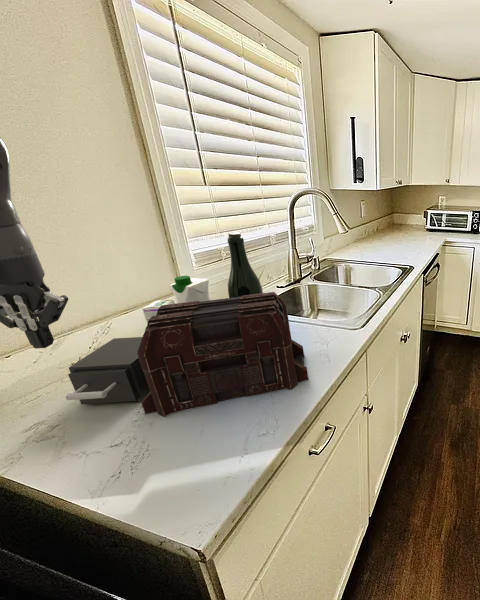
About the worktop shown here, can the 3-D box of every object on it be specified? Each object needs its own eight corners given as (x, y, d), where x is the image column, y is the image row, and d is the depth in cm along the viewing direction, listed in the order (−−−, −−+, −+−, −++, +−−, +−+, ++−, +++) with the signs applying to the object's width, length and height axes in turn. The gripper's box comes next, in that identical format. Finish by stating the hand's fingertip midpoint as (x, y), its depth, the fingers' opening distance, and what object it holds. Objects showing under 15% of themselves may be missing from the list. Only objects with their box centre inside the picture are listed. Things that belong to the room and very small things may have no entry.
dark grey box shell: (143, 400, 76) (130, 364, 72) (84, 404, 75) (68, 367, 71) (175, 367, 89) (166, 335, 85) (125, 370, 88) (113, 338, 84)
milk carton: (180, 338, 105) (163, 279, 98) (202, 326, 113) (188, 270, 106) (203, 340, 103) (187, 280, 96) (223, 328, 111) (210, 272, 104)
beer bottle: (239, 328, 111) (218, 231, 99) (271, 324, 114) (255, 229, 102) (233, 342, 102) (209, 236, 90) (268, 338, 104) (250, 234, 92)
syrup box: (176, 351, 97) (163, 306, 92) (155, 352, 96) (141, 307, 91) (186, 342, 102) (174, 299, 97) (167, 343, 102) (154, 300, 96)
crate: (140, 422, 69) (107, 334, 61) (165, 374, 85) (142, 301, 78) (309, 386, 80) (299, 308, 73) (303, 350, 97) (294, 283, 89)
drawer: (121, 414, 70) (109, 383, 67) (62, 418, 69) (48, 387, 66) (167, 369, 86) (158, 343, 83) (120, 372, 85) (110, 346, 82)
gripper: (65, 248, 58) (98, 335, 64) (-18, 250, 57) (24, 338, 63) (23, 258, 51) (65, 354, 57) (-71, 260, 50) (-18, 359, 56)
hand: (44, 346), depth 60 cm, fingers closed
